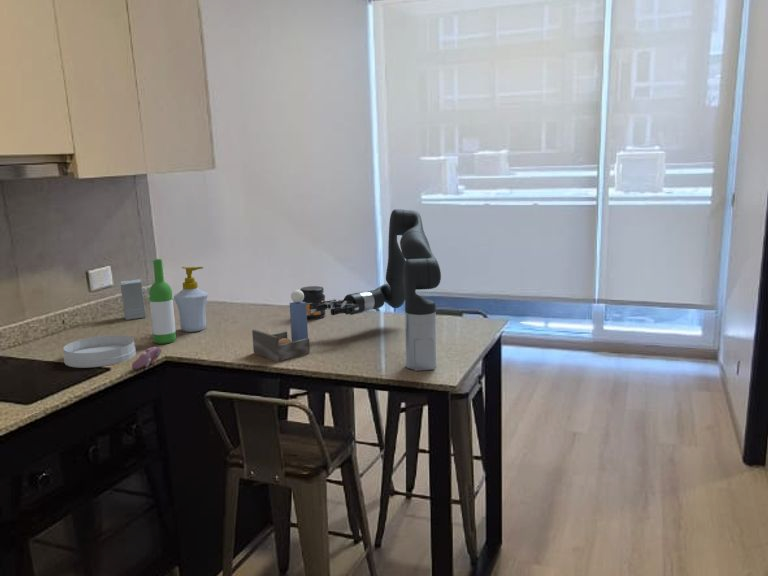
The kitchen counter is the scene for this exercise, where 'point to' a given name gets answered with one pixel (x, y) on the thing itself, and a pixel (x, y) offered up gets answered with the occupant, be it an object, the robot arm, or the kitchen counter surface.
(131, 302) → the skincare box
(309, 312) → the supplement container
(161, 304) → the wine bottle
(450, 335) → the kitchen counter surface
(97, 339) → the dish
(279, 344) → the ball
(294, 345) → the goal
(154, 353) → the video game controller
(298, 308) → the figure
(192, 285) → the soap bottle
